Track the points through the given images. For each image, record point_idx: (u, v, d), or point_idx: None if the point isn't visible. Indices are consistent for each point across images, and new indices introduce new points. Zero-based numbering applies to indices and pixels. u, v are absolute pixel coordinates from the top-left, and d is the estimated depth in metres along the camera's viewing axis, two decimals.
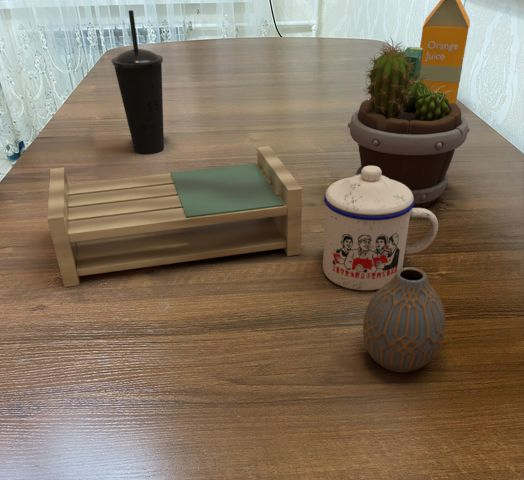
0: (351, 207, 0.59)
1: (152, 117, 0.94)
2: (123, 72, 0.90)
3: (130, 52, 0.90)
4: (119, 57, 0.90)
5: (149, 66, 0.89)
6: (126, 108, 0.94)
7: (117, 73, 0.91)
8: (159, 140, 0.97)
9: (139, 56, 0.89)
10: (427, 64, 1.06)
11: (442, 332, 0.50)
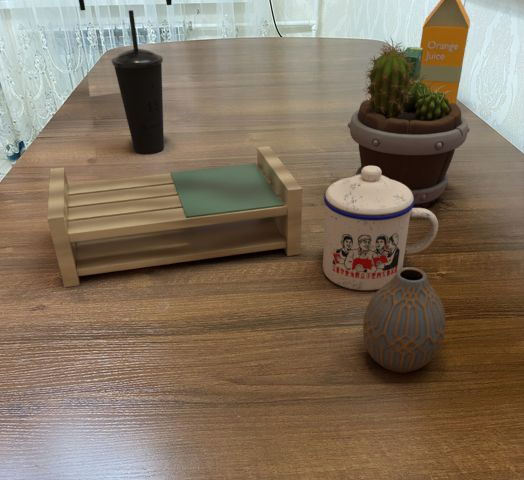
0: (351, 207, 0.59)
1: (152, 117, 0.94)
2: (123, 72, 0.90)
3: (130, 52, 0.90)
4: (119, 57, 0.90)
5: (149, 66, 0.89)
6: (126, 108, 0.94)
7: (117, 73, 0.91)
8: (159, 140, 0.97)
9: (139, 56, 0.89)
10: (427, 64, 1.06)
11: (442, 332, 0.50)
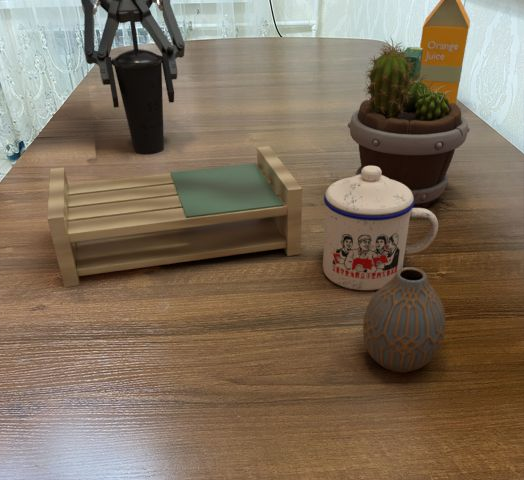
0: (351, 207, 0.59)
1: (152, 117, 0.94)
2: (123, 72, 0.90)
3: (130, 52, 0.90)
4: (119, 57, 0.90)
5: (149, 66, 0.89)
6: (126, 108, 0.94)
7: (117, 73, 0.91)
8: (159, 140, 0.97)
9: (139, 56, 0.89)
10: (427, 64, 1.06)
11: (442, 332, 0.50)
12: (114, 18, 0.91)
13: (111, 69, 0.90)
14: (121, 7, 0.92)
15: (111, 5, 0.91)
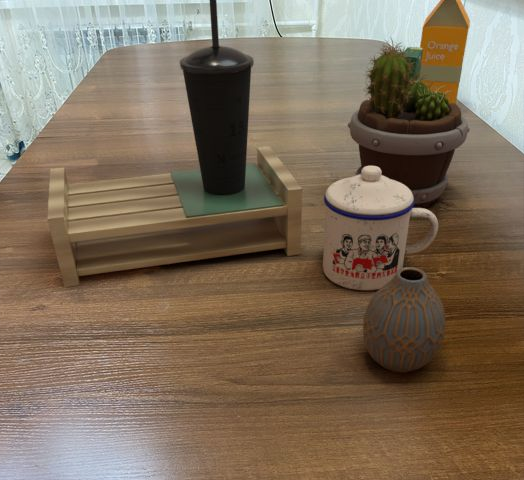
0: (351, 207, 0.59)
1: (234, 144, 0.65)
2: (198, 79, 0.61)
3: (208, 50, 0.61)
4: (192, 58, 0.61)
5: (237, 71, 0.60)
6: (197, 132, 0.65)
7: (188, 81, 0.62)
8: (241, 176, 0.68)
9: (222, 56, 0.60)
10: (427, 64, 1.06)
11: (442, 332, 0.50)
12: None
13: None
14: None
15: None
